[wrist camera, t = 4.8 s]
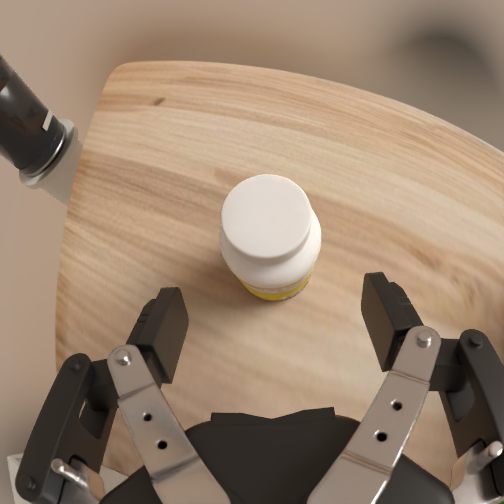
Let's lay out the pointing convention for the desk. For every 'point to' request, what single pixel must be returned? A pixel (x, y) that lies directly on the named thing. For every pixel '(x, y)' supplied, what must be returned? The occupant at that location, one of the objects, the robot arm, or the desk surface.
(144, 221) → the desk surface
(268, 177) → the supplement bottle
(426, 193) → the desk surface
